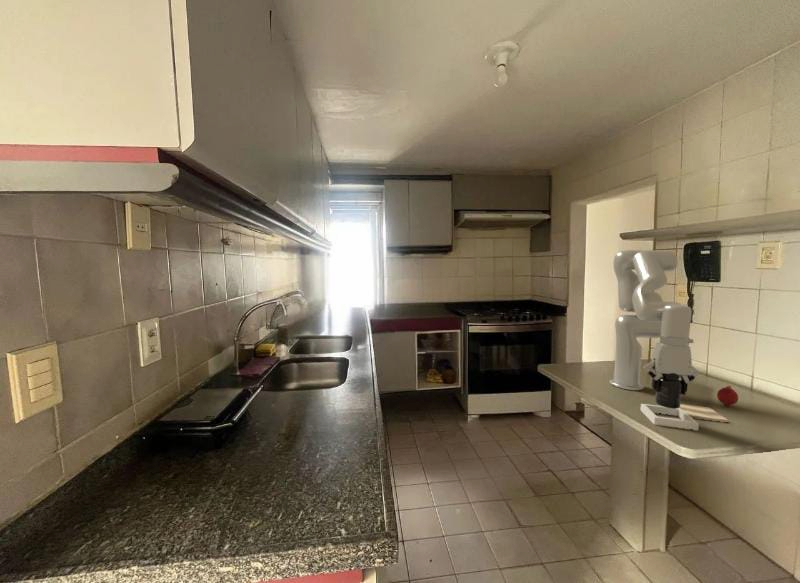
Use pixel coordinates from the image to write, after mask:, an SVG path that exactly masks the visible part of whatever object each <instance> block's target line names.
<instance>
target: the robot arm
mask: <svg viewBox="0 0 800 583" xmlns="http://www.w3.org/2000/svg"><path fill="white" fill-rule="evenodd" d="M678 260H679V259H678V257H677V255H676V254H675V252H673V251H672V250H667V249H666V250H665V249H664V250H657V249H654V250H653V249H649V250H648V249H647V250H641V249H636V250H634V249H629V250H628V249H627V250H621V251H618V252H617V253H616V254H615V255H614V257H613V270H614V275H615V276H616V280H617V287H618V288H617V294H618V308H619V309H620V310H621V311H623V312H627V313H635V314H623V315H619V316H617V318H615V322H614V325H615V326H614V327H615V336H616V337H615V338H616V339H615V342H616V344H615V355H614V356H615V358H614V372H613V378H611V379H609V384H611V385H612V386H613V385H614V386H613V387H616V388H619V389H623V390H627V391H642V390H644V387H645V386H644V384H642V383H641V382H640V381H641V380H640V379H641V367H642V369H644V371H645V372H646V373H647V374H648V375H649V376H650V377H651V378H652V380H651V381H652V382H651V388H652V389H653V390H654V391H655V393H656V392H659V387H660V381H659V378H660V377H661V376H662V374H670V373H676V374H677V375H680V379H679V380H680V381H681V382H682V394H681V395H683V396H685V395H686V393H687V391H688V384H690V382H692V381H693V380H695V378H697V377H699V375H701V372H700V371H699V370H698V369H697V368H695V366H694V365H693V364H692V363H693V362H692V360H693V359H692V351H691V347H690V345H689V344H694V339H693V338H690V329H691V322H692V309H691V307H690V306H687V305H685V304H684V305H683V304H682V303H679V302H677V301H676V302H675V301H663V297H662V296H661V294H659V293H658V292H656V290H657V291H658V290H659V289H661V288H664V286H666V284H667V283H668V278H667V276H666V273H665V272H668V273H669V272H670V273H671V272H673V271H675V270H676V269H677V267H678V264H679V263H678V262H679V261H678ZM633 270H635V272H634V271H633ZM637 338H643V339H644V338H647V339H658V338H659V342H656V344H655V346H654V350H653V353H652V356H651V357H652V358H651V361H649V362H648V363H646V364H645V365H643V366H642V354H643V348H642V344H641V343H640V342H639V341H638V340H637ZM651 369H652V370H654V371H652V370H651Z"/></svg>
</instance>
